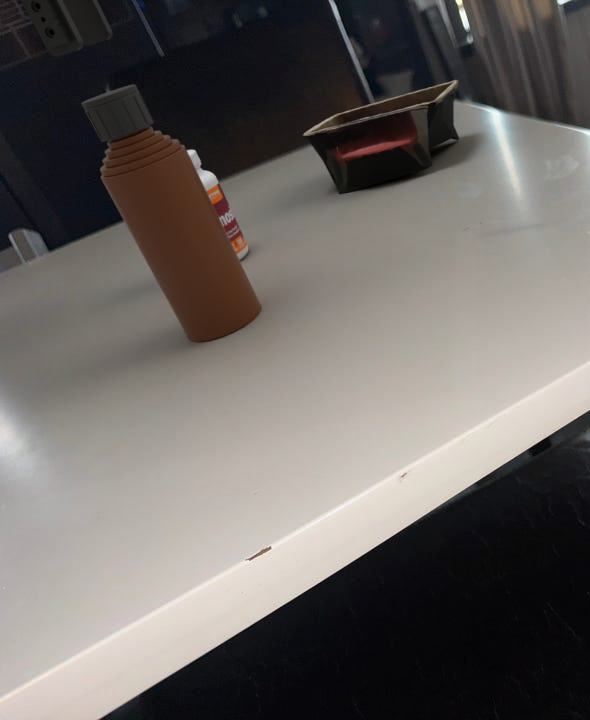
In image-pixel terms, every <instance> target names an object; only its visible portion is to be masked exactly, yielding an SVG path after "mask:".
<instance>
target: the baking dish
mask: <svg viewBox="0 0 590 720" xmlns="http://www.w3.org/2000/svg"><path fill="white" fill-rule="evenodd" d="M459 85H460V83H459V80H458V79H454V80H451V81H449V82H444V83H439V84H437V85H434V86H430V87H427V88H423V89H419V90H416V91H412V92H409V93H405V94H402V95H401V94H400V95H397V96H395V97H391V98H386V99H383V100H381V101H377V102H373V103H370V104H366V105H363V106H359V107H357V108H354V109H349V110H346V111H342V112H340V113H336V114H334V115H332V116H330V117H328V118H326V119H324V120H323V121H321V122H319V123H318V124H316V125H314V126H312V127H311V128H309V129H308V130H307V131H305V132H304V133H303V134H302V136H303V137H304V139H306V140H307V141H308V142H309V144H310V145H311V146H312V149H313V150H315V152H316V153H317V154H318V156H319V158H320V160H321V161H322V162H323V164H324V166H325V168H326V170H327V172H328V174H329V176H330V178H331V179H332V181H333V183H334V185H335V187H336V189H337V192H338V194H339V195H342V194H346V193H350V192H354V191H357V190H360V189H364V188H367V187H371V186H374V185H377V184H380V183H385V182H387V181H391V180H393V179H398V178H400V177H404V176H406V175H411V174H413V173H417V172H421V171H423V170H427V169H429V168H431V167H432V165H433V163H432V162H433V161H432V158H431V152H430V150H431V149H433V148H435V147H437V146H439V145H441V144H443V143H446V142H447V141H449V140H455V141H459V140H460V137H459V134H458V132H457V129H456V127H455V124H454V123H455V122H454V121H455V119H454V115H455V113H454V111H455V109H454V104H455V100H456V94H457V91H458V88H459Z"/></svg>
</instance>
